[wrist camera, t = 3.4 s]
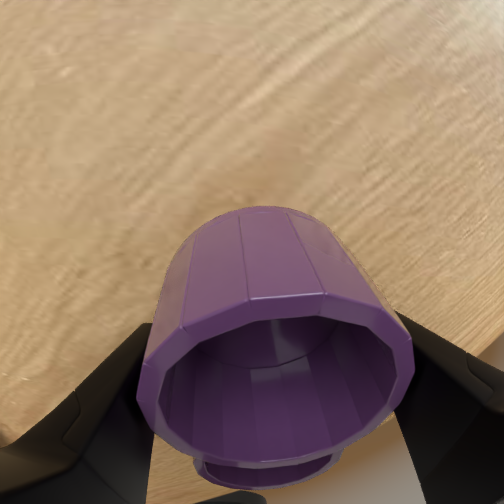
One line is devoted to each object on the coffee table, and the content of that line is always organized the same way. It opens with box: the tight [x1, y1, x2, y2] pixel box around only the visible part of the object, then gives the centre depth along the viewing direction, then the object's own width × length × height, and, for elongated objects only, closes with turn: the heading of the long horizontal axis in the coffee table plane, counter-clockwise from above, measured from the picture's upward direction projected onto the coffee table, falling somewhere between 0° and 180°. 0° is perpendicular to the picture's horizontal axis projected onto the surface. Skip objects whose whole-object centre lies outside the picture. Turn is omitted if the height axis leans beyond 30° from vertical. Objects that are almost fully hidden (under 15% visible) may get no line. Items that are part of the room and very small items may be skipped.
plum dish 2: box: [193, 449, 344, 490], centre depth 14 cm, size 6×6×5 cm
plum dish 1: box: [136, 206, 415, 469], centre depth 9 cm, size 6×6×5 cm
